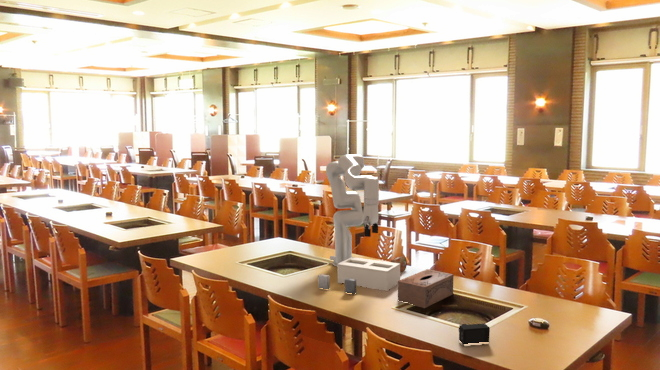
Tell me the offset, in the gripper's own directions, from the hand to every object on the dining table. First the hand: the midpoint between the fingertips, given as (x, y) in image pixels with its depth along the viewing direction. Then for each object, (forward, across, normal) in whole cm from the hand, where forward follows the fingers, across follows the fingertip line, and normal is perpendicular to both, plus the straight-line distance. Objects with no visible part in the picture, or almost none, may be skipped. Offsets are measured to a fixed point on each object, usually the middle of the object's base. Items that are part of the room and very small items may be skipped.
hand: (371, 234), depth 285 cm
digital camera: (+26, +53, +65) cm, 88 cm away
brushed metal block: (+25, +21, -2) cm, 33 cm away
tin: (+25, -23, +6) cm, 34 cm away
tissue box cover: (+26, +11, +33) cm, 43 cm away
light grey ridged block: (+25, +20, -17) cm, 36 cm away
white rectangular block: (+25, +1, -1) cm, 25 cm away
